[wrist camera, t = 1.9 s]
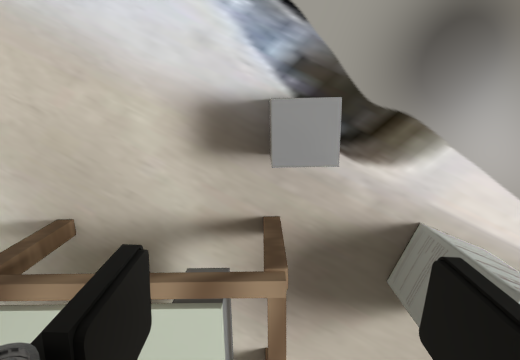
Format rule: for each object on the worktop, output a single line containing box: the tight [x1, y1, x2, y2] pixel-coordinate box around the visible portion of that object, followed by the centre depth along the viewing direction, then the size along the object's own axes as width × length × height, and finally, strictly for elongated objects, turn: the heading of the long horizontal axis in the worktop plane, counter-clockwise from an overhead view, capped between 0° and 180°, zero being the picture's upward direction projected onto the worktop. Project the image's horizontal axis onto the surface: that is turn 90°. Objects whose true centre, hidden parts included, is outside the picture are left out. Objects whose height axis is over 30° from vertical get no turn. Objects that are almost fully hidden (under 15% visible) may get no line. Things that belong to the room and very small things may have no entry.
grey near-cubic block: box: [269, 97, 342, 168], centre depth 26 cm, size 5×5×6 cm
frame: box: [0, 217, 288, 360], centre depth 28 cm, size 22×17×11 cm
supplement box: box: [387, 223, 520, 328], centre depth 26 cm, size 7×7×13 cm
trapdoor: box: [0, 268, 234, 360], centre depth 25 cm, size 15×13×5 cm
